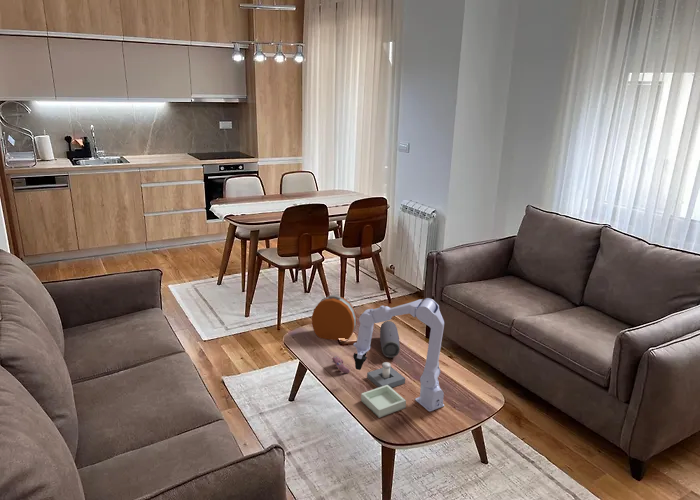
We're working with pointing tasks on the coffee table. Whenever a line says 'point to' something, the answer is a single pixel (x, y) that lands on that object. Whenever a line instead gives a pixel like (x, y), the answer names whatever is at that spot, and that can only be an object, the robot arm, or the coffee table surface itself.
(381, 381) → the grey square frame
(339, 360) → the video game controller
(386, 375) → the cylinder
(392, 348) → the bluetooth speaker
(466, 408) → the coffee table surface
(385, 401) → the parts tray
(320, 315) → the alarm clock
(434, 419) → the coffee table surface
